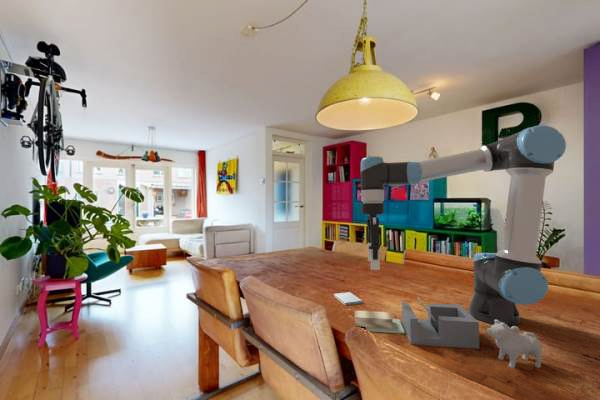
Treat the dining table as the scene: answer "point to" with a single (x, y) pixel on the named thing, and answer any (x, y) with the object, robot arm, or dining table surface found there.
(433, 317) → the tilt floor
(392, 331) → the mat
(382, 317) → the tile
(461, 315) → the dock
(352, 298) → the hard drive
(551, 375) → the dining table surface
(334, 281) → the dining table surface
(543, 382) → the dining table surface
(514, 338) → the animal figurine
